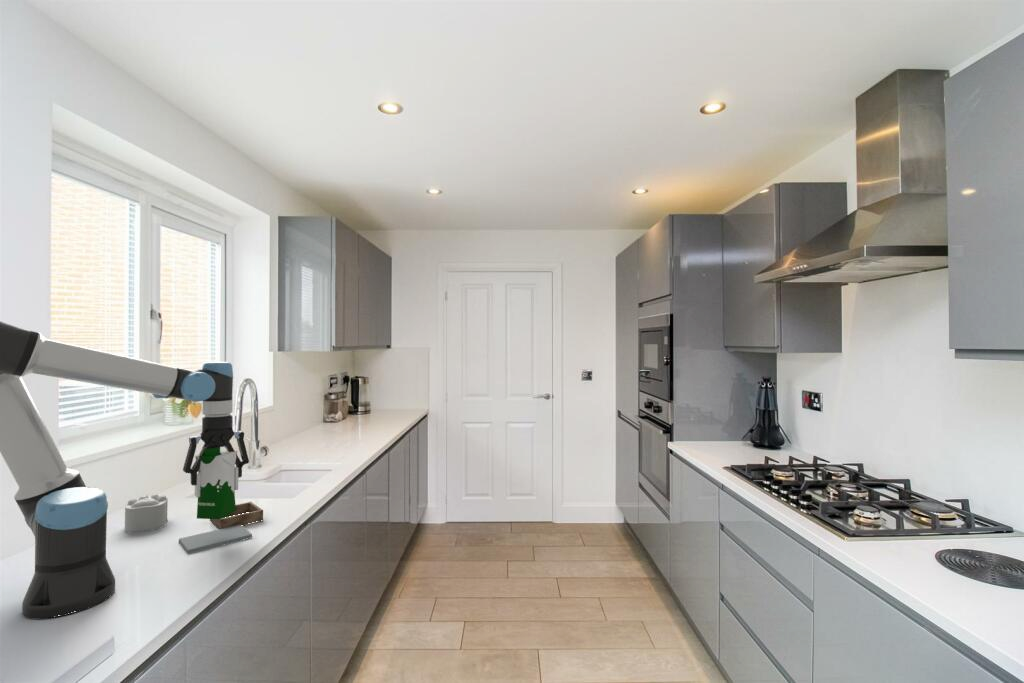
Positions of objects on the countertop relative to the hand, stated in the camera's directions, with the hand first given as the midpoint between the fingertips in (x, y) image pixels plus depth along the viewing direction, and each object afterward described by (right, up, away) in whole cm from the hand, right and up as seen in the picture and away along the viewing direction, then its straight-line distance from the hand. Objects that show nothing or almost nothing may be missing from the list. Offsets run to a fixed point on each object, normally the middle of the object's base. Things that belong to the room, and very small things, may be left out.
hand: (216, 492), depth 141 cm
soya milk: (0, -7, 0) cm, 7 cm away
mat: (0, -14, 0) cm, 14 cm away
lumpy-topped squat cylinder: (-29, -14, +12) cm, 35 cm away
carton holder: (-3, -14, +15) cm, 21 cm away
